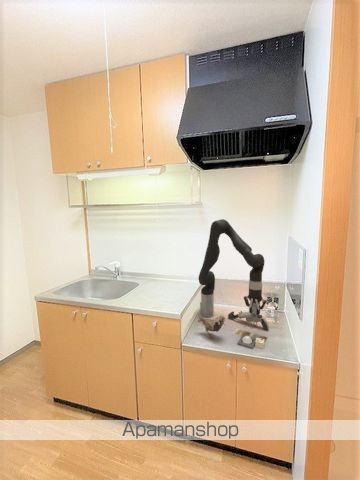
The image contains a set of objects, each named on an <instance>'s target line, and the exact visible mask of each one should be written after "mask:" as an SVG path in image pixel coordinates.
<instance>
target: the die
mask: <svg viewBox="0 0 360 480" xmlns="http://www.w3.org/2000/svg"><path fill="white" fill-rule="evenodd" d="M254 347H255V348H258V349H262V350H264V348H265V342H264V339H261V338H256V342H255V346H254Z"/></svg>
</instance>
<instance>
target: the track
mask: <svg viewBox="0 0 360 480" xmlns="http://www.w3.org/2000/svg"><path fill="white" fill-rule="evenodd" d="M232 333H233V334H235V335H239V336H241V337H242V336H249V337H250V338H253V339H256V338H261V339H264V343H266V342H267V340H268V338H269V337H268V336H264V335H260V334H257V333H254V332H250V331H247V330H243V329H239V328H236V329H235V330H234V331H233V332H232Z"/></svg>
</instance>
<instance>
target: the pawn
mask: <svg viewBox="0 0 360 480" xmlns="http://www.w3.org/2000/svg"><path fill="white" fill-rule="evenodd" d="M251 316H253V317H257V316H258V315H257V305H256V303H252V310H251Z"/></svg>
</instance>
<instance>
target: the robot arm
mask: <svg viewBox="0 0 360 480" xmlns="http://www.w3.org/2000/svg"><path fill="white" fill-rule="evenodd" d="M222 234H225V235H226V236H227V237H229V239H230V240H231V241H230V242H231V243H232V246H233V248H234V249H235V251H237V252H238V253H239V254H240V255H241V256H242V257H243V259H244V260H245V262H246V264H247V265H248V266H249V267H251V268H252V269H251V270H250V271H249V279H248V294H247V295H245V296H244V297H243V300H244V303H245V306H246V307H248V309H249V310H248V312H250V314H251V310H252V303H256V305H257V315H261V310H263V309H264V307H265V305H266V304H267V301H268V300H267V299H264V298H263V281H262V280H263V271H264V267H265V258H264V255H262V253H256V254H254V253H253V252H252V251H253V249H252V247H251V246H250V245H249V244H248V243H247V242H245V241H244V239H242V237H241V236H240V235H239V234H238V233H237V231H236V230H235V229H234V227H232V225H231V224H230V223H229V221H228V220H227V219H224V218H223V219H218V220H215V221H213V222H212V223H211V226H210V231H209V238H208V242H207V247H206V250H205V254H204V258H203V259H204V260H203V262H202V266H201V269H200V271H199V273H198V274H199V275H198V282H199V285H201V286H203V287H202V288H201V290H200V297H201V298H200V302H199V307H200V309H199V315H201V316H202V317H204V318H210V317H214V316H215V315H214V312H215V308H214V307H215V306H214V305H215V304H214V302H215V301H214V299H215V297H214V295H215V293H214V291H215V287H216V286H215V285H216V276H215V274H214V272H213V271H211V269H212V268H213V267H214V266H215V264H216V263H217V262H218V260H219V256H220V252H221V251H220V250H221V249H220V246H219V239H220V237H221V235H222ZM249 301H250V302H249ZM261 303H262V305H261Z"/></svg>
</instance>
